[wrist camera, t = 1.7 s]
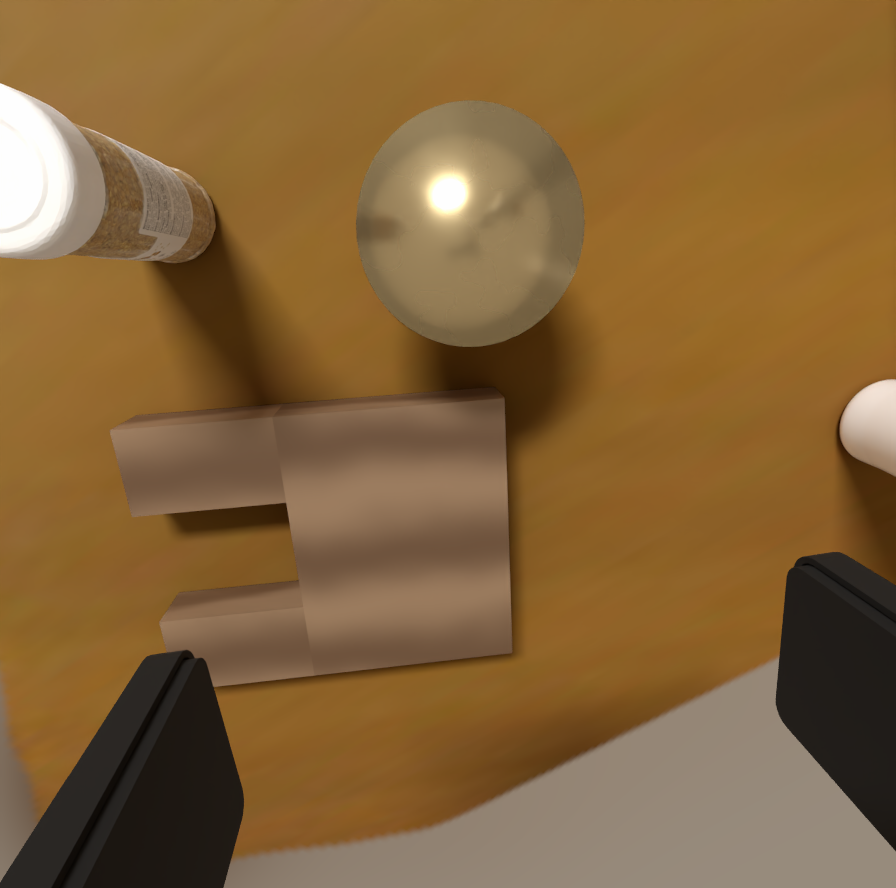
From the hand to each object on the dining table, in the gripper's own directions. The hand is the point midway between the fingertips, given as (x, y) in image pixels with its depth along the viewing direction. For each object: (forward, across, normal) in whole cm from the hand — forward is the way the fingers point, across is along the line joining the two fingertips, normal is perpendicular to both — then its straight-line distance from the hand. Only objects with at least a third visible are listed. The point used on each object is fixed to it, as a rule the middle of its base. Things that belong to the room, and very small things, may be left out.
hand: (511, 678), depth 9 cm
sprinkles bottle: (+24, +12, -10) cm, 29 cm away
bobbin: (+24, -2, -8) cm, 25 cm away
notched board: (+24, +6, +8) cm, 26 cm away
